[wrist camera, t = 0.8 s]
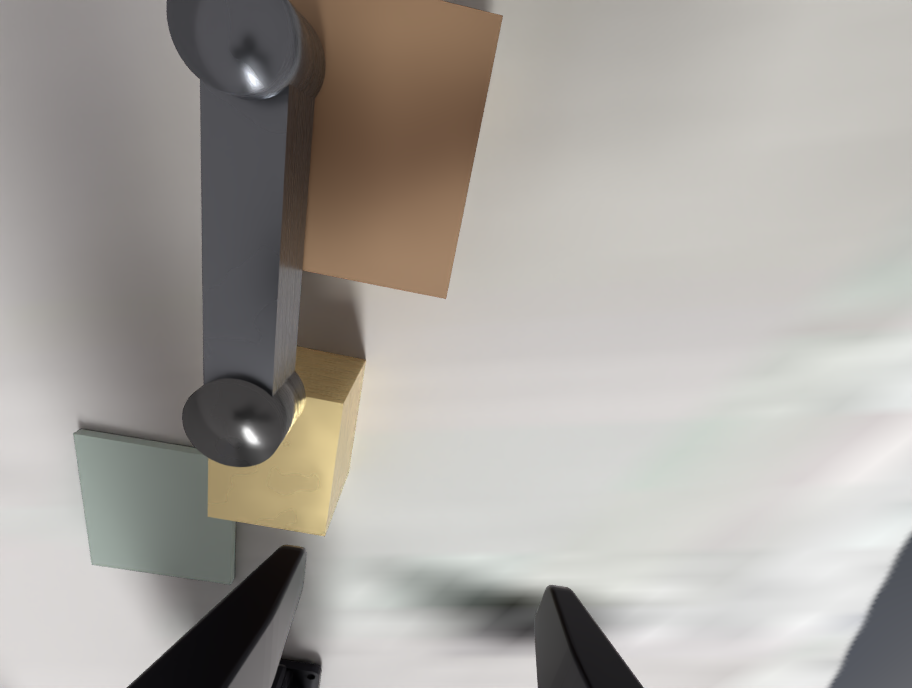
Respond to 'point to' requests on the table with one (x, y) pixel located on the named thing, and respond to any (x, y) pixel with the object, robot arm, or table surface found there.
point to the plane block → (394, 137)
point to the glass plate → (151, 508)
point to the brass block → (299, 455)
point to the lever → (250, 215)
